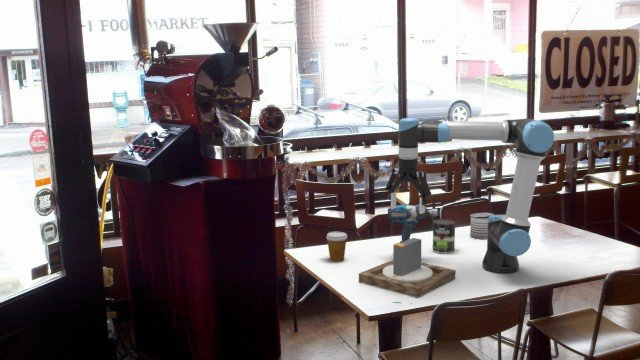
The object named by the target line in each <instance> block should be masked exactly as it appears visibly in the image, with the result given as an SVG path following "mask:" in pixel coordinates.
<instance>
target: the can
mask: <svg viewBox="0 0 640 360" xmlns="http://www.w3.org/2000/svg"><path fill="white" fill-rule="evenodd" d="M491 215H495V213H490V212H476V213H471V214H469V216H470V230H469V231H470V232H469V234H470V235H469V237H470V238H471V239H473V238H474V239H473V240H478V239H479V241H480V240H481V241H487V234H488V224H487V223H488V218H489V216H491Z"/></svg>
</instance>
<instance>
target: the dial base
mask: <svg viewBox="0 0 640 360" xmlns="http://www.w3.org/2000/svg"><path fill="white" fill-rule="evenodd" d="M389 265H393V259H392V260H389V261H386V262H384V263H381V264H378V265H376V266H374V267H371V268H369V269H366V270H365V271H362V272H360V273H358V282H359V283H363V284H366V285H369V286H374V287H378V288H381V289H384V290H388V291H391V290H392V292H395V293H400V294H404V295H408V296H410V297H414V298H420V297H422V296H424V295H426V294H427V293H429V292H431V291H433V290H436V289H437V288H440V287H441V286H443V285H446V284H448V283H449V282H451V281H453V280H455V279H456V273H457V272H456V269H452V268H449V267H448V268H447V267H443V266H438V265H434V264H429V263H425V262H421V265H423V266H426V267H428V268H430V269H431V270H432V277H431V278H429V279H427V280H424V281H422V282H420V283H418V284H410V283H406V282H402V281H398V280H394V279H391V278H386V277H383V269H384V268H385V267H386V266H389Z"/></svg>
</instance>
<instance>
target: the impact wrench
mask: <svg viewBox="0 0 640 360" xmlns="http://www.w3.org/2000/svg"><path fill="white" fill-rule="evenodd" d="M419 205H420V204H416V205H408V204H407V205H396V208H394V209H391V206H390V207H388V209H387V218H388V221H389V222H390V223H391V224H392V225H402V231H401V240H400V242H398V243H401V242H403V241H406V240H409V239H411V236H412V232H413V230H415V229H416V228H417V227H416V225H417V224H418V223H420V222H421V221H423V220H426V219H428V217H435V218H437V216H439V215H440V213H439V212H440V210H439V209H438V208H432V209H428V208H427V207H425V213H422V214H419Z"/></svg>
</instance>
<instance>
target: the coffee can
mask: <svg viewBox="0 0 640 360" xmlns="http://www.w3.org/2000/svg"><path fill="white" fill-rule="evenodd" d="M432 225H433V226H432V227H433V228H432V252H433V253H436V254H441V255H442V254H443V255H448V254H449V255H450V254H454V253H455V248H456V247H455V246H456V245H455V241H456V239H455V238H456V221H454V220H452V219H446V218H445V219H443V218H441V219H434V220H433V221H432Z"/></svg>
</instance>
